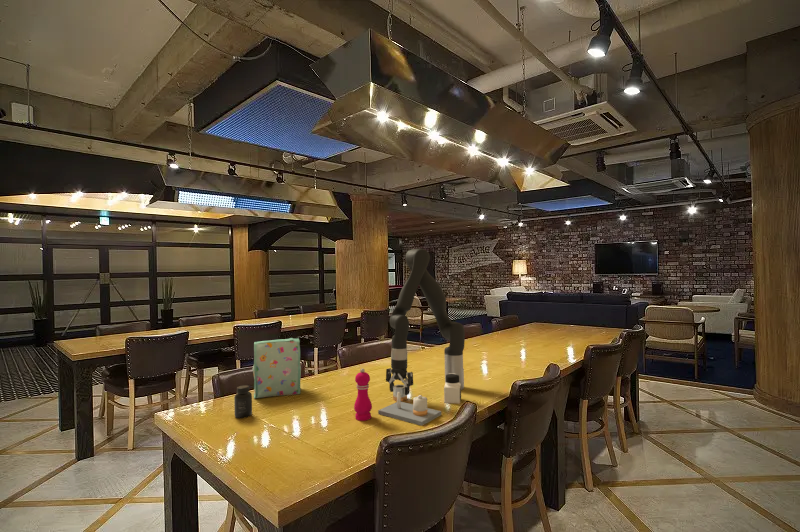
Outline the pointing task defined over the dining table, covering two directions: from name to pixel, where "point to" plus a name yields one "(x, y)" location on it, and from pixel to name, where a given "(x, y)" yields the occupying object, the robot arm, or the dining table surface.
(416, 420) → the pin board
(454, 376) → the medicine bottle
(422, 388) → the dining table surface
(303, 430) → the dining table surface
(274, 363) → the lunch bag
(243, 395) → the supplement bottle
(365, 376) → the pepper mill
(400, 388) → the sleeve
